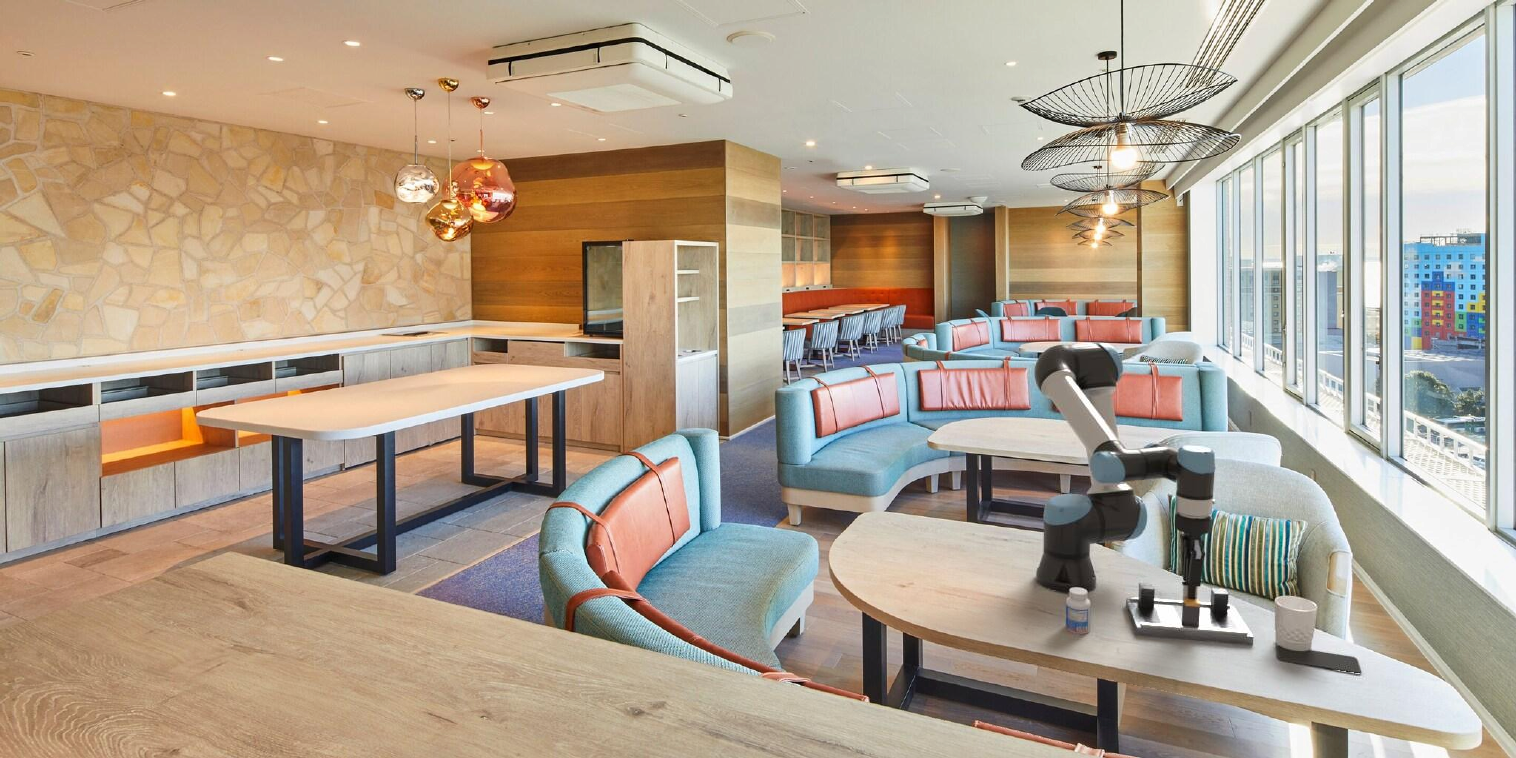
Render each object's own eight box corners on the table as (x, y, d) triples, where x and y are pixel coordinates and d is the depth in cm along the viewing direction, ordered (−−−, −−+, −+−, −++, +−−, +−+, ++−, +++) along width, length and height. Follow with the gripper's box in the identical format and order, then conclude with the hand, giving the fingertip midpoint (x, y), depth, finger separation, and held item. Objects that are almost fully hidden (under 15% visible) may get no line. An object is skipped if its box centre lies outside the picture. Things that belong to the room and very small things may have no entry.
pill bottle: (1071, 621, 199) (1072, 583, 197) (1093, 628, 195) (1095, 589, 194) (1061, 629, 195) (1062, 591, 194) (1083, 636, 191) (1084, 597, 190)
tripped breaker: (1184, 626, 190) (1185, 602, 189) (1181, 620, 193) (1182, 597, 192) (1199, 627, 189) (1200, 603, 188) (1195, 621, 192) (1197, 598, 191)
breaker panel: (1136, 635, 191) (1137, 607, 190) (1125, 605, 206) (1126, 579, 205) (1252, 644, 185) (1254, 615, 183) (1232, 613, 200) (1234, 586, 199)
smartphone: (1274, 643, 184) (1357, 656, 177) (1274, 647, 184) (1356, 660, 177) (1277, 658, 178) (1362, 672, 170) (1276, 662, 178) (1362, 677, 171)
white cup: (1320, 655, 179) (1324, 611, 178) (1280, 652, 181) (1283, 610, 179) (1304, 637, 187) (1307, 596, 185) (1266, 635, 188) (1269, 594, 187)
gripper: (1219, 523, 182) (1214, 623, 186) (1204, 505, 194) (1200, 599, 198) (1182, 521, 184) (1177, 620, 188) (1169, 503, 196) (1166, 597, 200)
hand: (1189, 609), depth 193 cm, fingers closed
